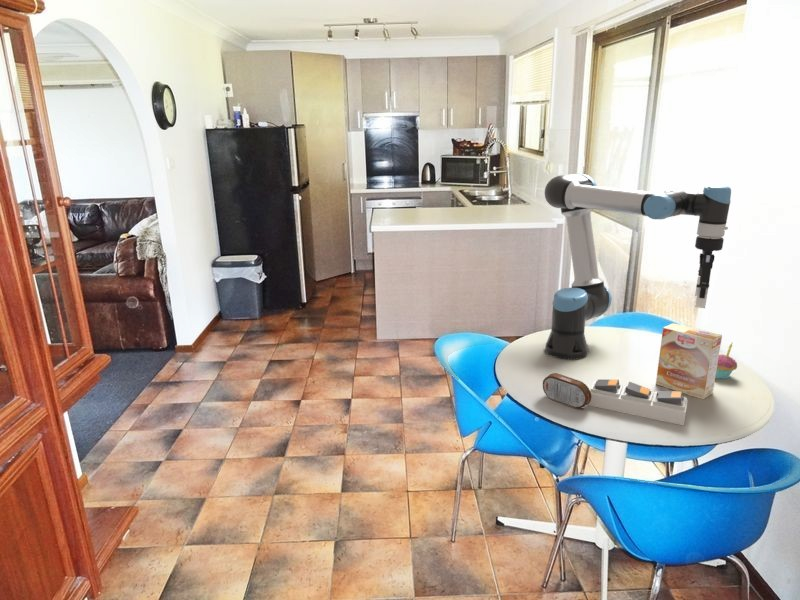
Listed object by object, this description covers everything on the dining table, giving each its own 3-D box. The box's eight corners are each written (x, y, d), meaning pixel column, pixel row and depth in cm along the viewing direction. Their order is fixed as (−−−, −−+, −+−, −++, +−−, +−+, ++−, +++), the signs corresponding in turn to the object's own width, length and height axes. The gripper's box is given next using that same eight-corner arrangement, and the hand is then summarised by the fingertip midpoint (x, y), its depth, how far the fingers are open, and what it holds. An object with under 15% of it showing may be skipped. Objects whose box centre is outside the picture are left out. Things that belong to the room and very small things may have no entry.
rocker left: (595, 390, 164) (594, 385, 164) (598, 384, 169) (597, 379, 168) (616, 391, 161) (615, 385, 161) (619, 384, 165) (618, 379, 165)
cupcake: (726, 370, 187) (732, 337, 183) (740, 381, 179) (746, 347, 175) (700, 370, 187) (705, 337, 184) (713, 381, 179) (719, 347, 176)
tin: (590, 409, 162) (593, 383, 160) (585, 413, 160) (587, 387, 158) (545, 394, 172) (547, 369, 170) (540, 397, 170) (541, 372, 168)
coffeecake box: (654, 384, 178) (662, 327, 172) (665, 378, 182) (672, 322, 177) (703, 400, 167) (713, 339, 161) (713, 393, 171) (723, 334, 166)
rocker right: (657, 403, 156) (657, 397, 156) (659, 396, 161) (658, 390, 160) (681, 403, 153) (680, 397, 153) (682, 396, 157) (681, 390, 157)
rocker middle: (625, 392, 160) (626, 387, 160) (627, 386, 164) (629, 381, 164) (646, 400, 158) (648, 395, 157) (648, 394, 162) (650, 388, 161)
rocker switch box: (578, 403, 166) (579, 388, 165) (584, 391, 173) (586, 376, 172) (683, 425, 152) (686, 409, 151) (685, 411, 160) (688, 396, 159)
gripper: (726, 244, 159) (714, 314, 166) (722, 231, 181) (711, 293, 187) (697, 242, 163) (686, 310, 169) (696, 229, 184) (687, 290, 190)
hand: (699, 301), depth 178 cm, fingers open, 13 cm apart
